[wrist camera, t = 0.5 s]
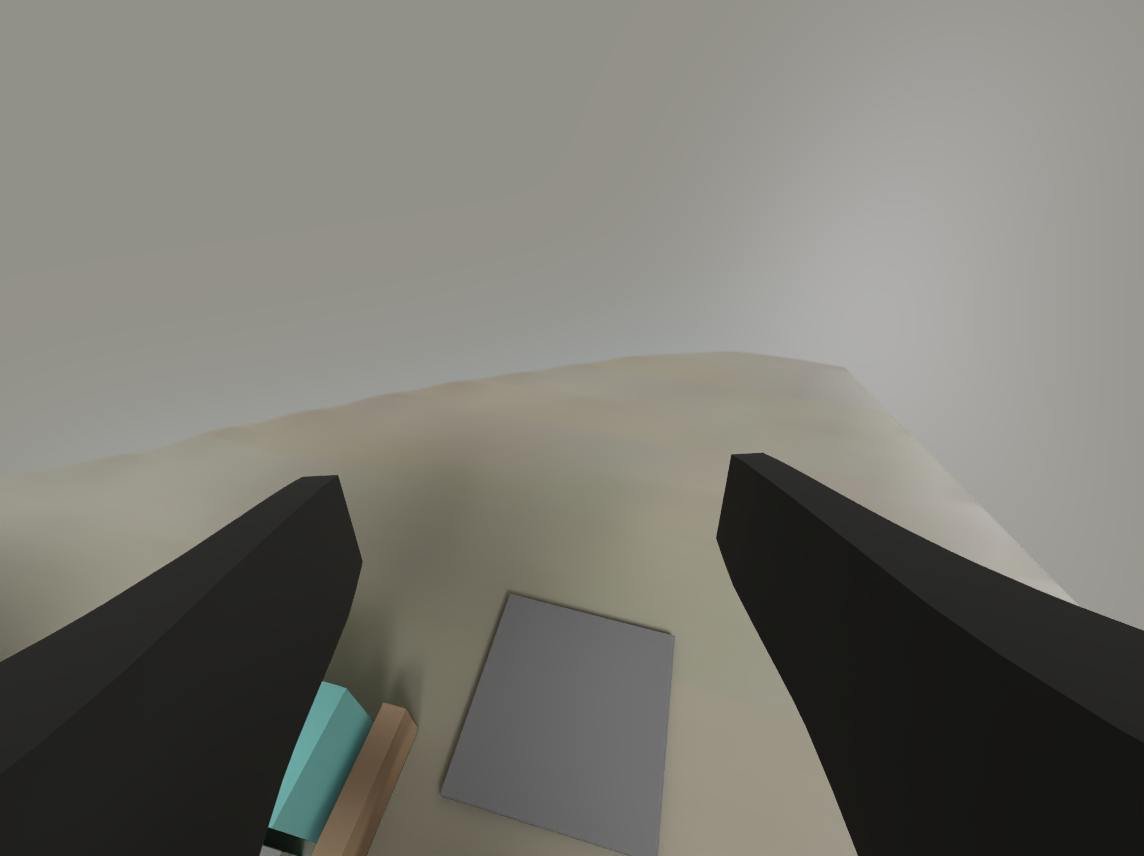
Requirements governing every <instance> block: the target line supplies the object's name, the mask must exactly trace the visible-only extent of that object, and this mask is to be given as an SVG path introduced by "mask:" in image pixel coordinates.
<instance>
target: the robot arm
mask: <svg viewBox="0 0 1144 856" xmlns="http://www.w3.org/2000/svg"><path fill="white" fill-rule="evenodd" d="M716 539H717V542H718V545H719V548H720V551H721V554H722V556H723V559H724V562H725V565H726V568H727V570H728V573H729V575H730V578H731V581H732V583H733V586H734V588H735V590H736V592H737V594H738V596H739V598H740V600H741V602H742V604H743V605H744V607H745V609H746V611H747V613H748V615H749V617H750V619H751V621H752V623H753V625H754V627H755V629H756V631H757V632H758V634H759V636H760V638H761V640H762V642H763V644H764V646H765V648H766V649H767V651H768V653H769V655H770V657H771V659H772V661H773V663H774V665H775V666H776V668H777V670H778V672H779V674H780V676H781V678H782V680H783V682H784V684H785V685H786V687H787V689H788V691H789V693H790V695H791V697H792V699H793V701H794V703H795V705H796V707H797V709H798V711H799V713H800V715H801V717H802V720H803V722H804V724H805V726H806V728H807V730H808V733H809V735H810V737H811V740H812V742H813V745H814V747H815V749H816V752H817V754H818V757H819V759H820V761H821V764H822V766H823V769H824V771H825V773H826V776H827V778H828V781H829V783H830V785H831V788H832V790H833V793H834V795H835V798H836V800H837V803H838V806H839V808H840V811H841V813H842V816H843V818H844V821H845V823H846V826H847V829H848V831H849V834H850V836H851V839H852V841H853V844H854V847H855V849H856V852H857V854H858V856H1144V631H1143V630H1140V629H1137V628H1135V627H1132V626H1129V625H1127V624H1124V623H1122V622H1119V621H1116V620H1114V619H1111V618H1108V617H1105V616H1103V615H1100V614H1097V613H1095V612H1092V611H1089V610H1087V609H1084V608H1081V607H1079V606H1076V605H1074V604H1071V603H1069V602H1066V601H1064V600H1061V599H1059V598H1056V597H1054V596H1051V595H1049V594H1046V593H1044V592H1041V591H1039V590H1037V589H1034V588H1032V587H1030V586H1027V585H1025V584H1023V583H1020V582H1018V581H1016V580H1013V579H1011V578H1009V577H1007V576H1004V575H1002V574H1000V573H997V572H995V571H993V570H990V569H988V568H986V567H983V566H981V565H979V564H977V563H974V562H972V561H970V560H968V559H966V558H964V557H961V556H959V555H957V554H955V553H953V552H951V551H949V550H947V549H945V548H943V547H941V546H939V545H937V544H935V543H933V542H931V541H928V540H926V539H924V538H922V537H920V536H918V535H916V534H914V533H912V532H910V531H908V530H906V529H904V528H902V527H901V526H899V525H897V524H895V523H893V522H891V521H889V520H887V519H885V518H883V517H881V516H880V515H878V514H876V513H874V512H872V511H870V510H868V509H867V508H865V507H863V506H861V505H859V504H857V503H856V502H854V501H852V500H850V499H848V498H847V497H845V496H843V495H841V494H839V493H838V492H836V491H834V490H832V489H830V488H829V487H827V486H825V485H823V484H821V483H820V482H818V481H816V480H814V479H812V478H811V477H809V476H807V475H805V474H803V473H802V472H800V471H798V470H796V469H794V468H792V467H791V466H789V465H787V464H785V463H783V462H781V461H779V460H777V459H775V458H773V457H771V456H769V455H766V454H764V453H751V454H732V455H731V460H730V465H729V471H728V476H727V482H726V487H725V493H724V498H723V504H722V509H721V515H720V520H719V526H718V531H717V537H716ZM362 562H363V561H362V558H361V554H360V551H359V547H358V544H357V540H356V537H355V533H354V530H353V526H352V522H351V519H350V515H349V512H348V508H347V505H346V501H345V498H344V494H343V491H342V487H341V484H340V480H339V477H338V475H330V476H311V477H302V478H300V479H298V480H296V481H294V482H292V483H291V484H289V485H287V486H286V487H284V488H283V489H281V490H279V491H278V492H276V493H275V494H273V495H272V496H270V497H269V498H267V499H265V500H264V501H262V502H261V503H259V504H258V505H256V506H255V507H253V508H252V509H250V510H249V511H248V512H246V513H245V514H243V515H242V516H240V517H239V518H237V519H236V520H234V521H233V522H231V523H230V524H228V525H227V526H225V527H224V528H222V529H221V530H219V531H218V532H216V533H215V534H213V535H212V536H210V537H209V538H207V539H206V540H204V541H203V542H201V543H200V544H198V545H197V546H195V547H194V548H192V549H191V550H189V551H188V552H186V553H185V554H183V555H181V556H180V557H178V558H177V559H175V560H173V561H172V562H170V563H169V564H167V565H165V566H164V567H162V568H161V569H159V570H157V571H156V572H154V573H153V574H151V575H149V576H148V577H146V578H145V579H143V580H141V581H140V582H138V583H137V584H135V585H133V586H132V587H130V588H129V589H127V590H125V591H124V592H122V593H121V594H119V595H117V596H116V597H114V598H113V599H111V600H109V601H108V602H106V603H105V604H103V605H101V606H100V607H98V608H96V609H94V610H93V611H91V612H89V613H88V614H86V615H84V616H83V617H81V618H79V619H77V620H76V621H74V622H72V623H70V624H69V625H67V626H65V627H63V628H62V629H60V630H58V631H56V632H55V633H53V634H51V635H49V636H47V637H46V638H44V639H42V640H40V641H38V642H36V643H35V644H33V645H31V646H29V647H27V648H25V649H24V650H22V651H20V652H18V653H16V654H15V655H13V656H11V657H9V658H7V659H5V660H4V661H2V662H0V856H260V852H261V849H262V846H263V843H264V839H265V836H266V833H267V830H268V827H269V823H270V820H271V817H272V814H273V810H274V807H275V804H276V801H277V797H278V794H279V791H280V788H281V784H282V781H283V779H284V776H285V773H286V770H287V768H288V765H289V762H290V759H291V757H292V754H293V751H294V749H295V746H296V744H297V741H298V739H299V736H300V734H301V731H302V729H303V727H304V724H305V722H306V719H307V717H308V714H309V712H310V710H311V707H312V705H313V702H314V700H315V697H316V695H317V693H318V690H319V688H320V685H321V683H322V680H323V678H324V676H325V673H326V671H327V668H328V666H329V663H330V661H331V659H332V656H333V654H334V651H335V649H336V646H337V644H338V641H339V639H340V636H341V634H342V631H343V629H344V626H345V623H346V621H347V618H348V616H349V613H350V609H351V606H352V602H353V598H354V595H355V591H356V587H357V583H358V579H359V575H360V571H361V567H362Z"/></svg>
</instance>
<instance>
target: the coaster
mask: <svg viewBox="0 0 1144 856" xmlns="http://www.w3.org/2000/svg"><path fill="white" fill-rule="evenodd" d="M674 640H675V636H673V635H669V634H665V633H662V632H658V631H654V630H650V629H646V628H642V627H638V626H634V625H630V624H627V623H623V622H619V621H615V620H611V619H607V618H603V617H599V616H595V615H591V614H588V613H584V612H580V611H576V610H572V609H568V608H564V607H560V606H556V605H552V604H549V603H545V602H541V601H537V600H533V599H529V598H525V597H521V596H517V595H514V594H510V595H509V598H508V601H507V604H506V607H505V609H504V612H503V615H502V618H501V621H500V624H499V627H498V629H497V632H496V635H495V638H494V641H493V644H492V647H491V649H490V652H489V655H488V658H487V661H486V664H485V666H484V669H483V672H482V675H481V678H480V681H479V684H478V686H477V689H476V692H475V695H474V698H473V701H472V704H471V706H470V709H469V712H468V715H467V718H466V721H465V724H464V726H463V729H462V732H461V735H460V738H459V741H458V743H457V746H456V749H455V752H454V755H453V758H452V761H451V763H450V766H449V769H448V772H447V775H446V778H445V781H444V783H443V786H442V789H441V792H440V795H441V796H443V797H446V798H449V799H452V800H455V801H459V802H462V803H465V804H468V805H471V806H474V807H478V808H481V809H484V810H487V811H490V812H493V813H496V814H500V815H503V816H506V817H509V818H512V819H515V820H518V821H522V822H525V823H528V824H531V825H534V826H537V827H540V828H544V829H547V830H550V831H553V832H556V833H559V834H562V835H566V836H569V837H572V838H575V839H578V840H581V841H584V842H588V843H591V844H594V845H597V846H600V847H603V848H607V849H610V850H613V851H616V852H619V853H622V854H625V855H629V856H658V846H659V833H660V820H661V807H662V795H663V782H664V769H665V756H666V743H667V730H668V717H669V704H670V691H671V679H672V666H673V653H674Z"/></svg>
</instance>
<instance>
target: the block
mask: <svg viewBox="0 0 1144 856" xmlns="http://www.w3.org/2000/svg"><path fill="white" fill-rule="evenodd" d="M373 723H374V721H373V720H372V719H371V718H370V716H369V715H368V714H367V713H366V712H365V710H364V709H363V708H362V707H361V705H360V704H359V703H358V702H357V701H356V699H355V698H354V697H353V696H352V694H351V693H350V692H349V691H348V689H347V688H344V687H341V686H338V685H334V684H331V683H328V682H324V681H322V683H321V685H320V688H319V690H318V693H317V695H316V697H315V700H314V702H313V705H312V707H311V710H310V712H309V714H308V717H307V719H306V722H305V724H304V727H303V729H302V731H301V734H300V736H299V739H298V741H297V744H296V746H295V749H294V751H293V754H292V757H291V759H290V762H289V765H288V768H287V770H286V773H285V776H284V779H283V781H282V784H281V788H280V791H279V794H278V797H277V801H276V804H275V807H274V810H273V814H272V817H271V820H270V823H269V828H272V829H275V830H279V831H282V832H285V833H288V834H291V835H294V836H297V837H300V838H303V839H306V840H309V841H312V842H315V843H317V842H318V840H319V837H320V835H321V833H322V831H323V829H324V827H325V825H326V823H327V821H328V818H329V816H330V814H331V812H332V810H333V808H334V806H335V804H336V802H337V799H338V797H339V795H340V793H341V791H342V789H343V787H344V785H345V782H346V780H347V778H348V776H349V774H350V772H351V770H352V768H353V766H354V763H355V761H356V759H357V757H358V755H359V753H360V751H361V749H362V747H363V744H364V742H365V740H366V738H367V736H368V734H369V732H370V730H371V727H372V725H373Z"/></svg>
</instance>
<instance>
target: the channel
mask: <svg viewBox="0 0 1144 856" xmlns="http://www.w3.org/2000/svg"><path fill="white" fill-rule="evenodd" d="M417 731H418V728H417V726H416V724H415V723H414V721H413V719H412V718H411V716H410V714H409V713H408V711H407V710H406V709H405V708H401V707H398V706H395V705H391V704H388V703H385V702H383V704H382V706H381V708H380V711H379V713H378V715H377V717H376V719H375V721H374V723H373V725H372V727H371V730H370V732H369V734H368V736H367V738H366V740H365V742H364V744H363V747H362V749H361V751H360V753H359V755H358V757H357V759H356V761H355V763H354V766H353V768H352V770H351V772H350V774H349V776H348V778H347V780H346V782H345V785H344V787H343V789H342V791H341V793H340V795H339V797H338V799H337V802H336V804H335V806H334V808H333V810H332V812H331V814H330V816H329V818H328V821H327V823H326V825H325V827H324V829H323V831H322V833H321V835H320V837H319V840H318V842H317V844H316V846H315V848H314V850H313V852H312V854H311V856H366V855H367V853H368V850H369V848H370V846H371V843H372V841H373V838H374V836H375V833H376V831H377V828H378V826H379V824H380V821H381V819H382V816H383V814H384V811H385V809H386V807H387V804H388V802H389V799H390V797H391V794H392V792H393V789H394V787H395V785H396V782H397V780H398V777H399V775H400V772H401V770H402V767H403V765H404V763H405V760H406V758H407V755H408V753H409V750H410V748H411V745H412V743H413V741H414V738H415V736H416V733H417Z"/></svg>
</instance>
